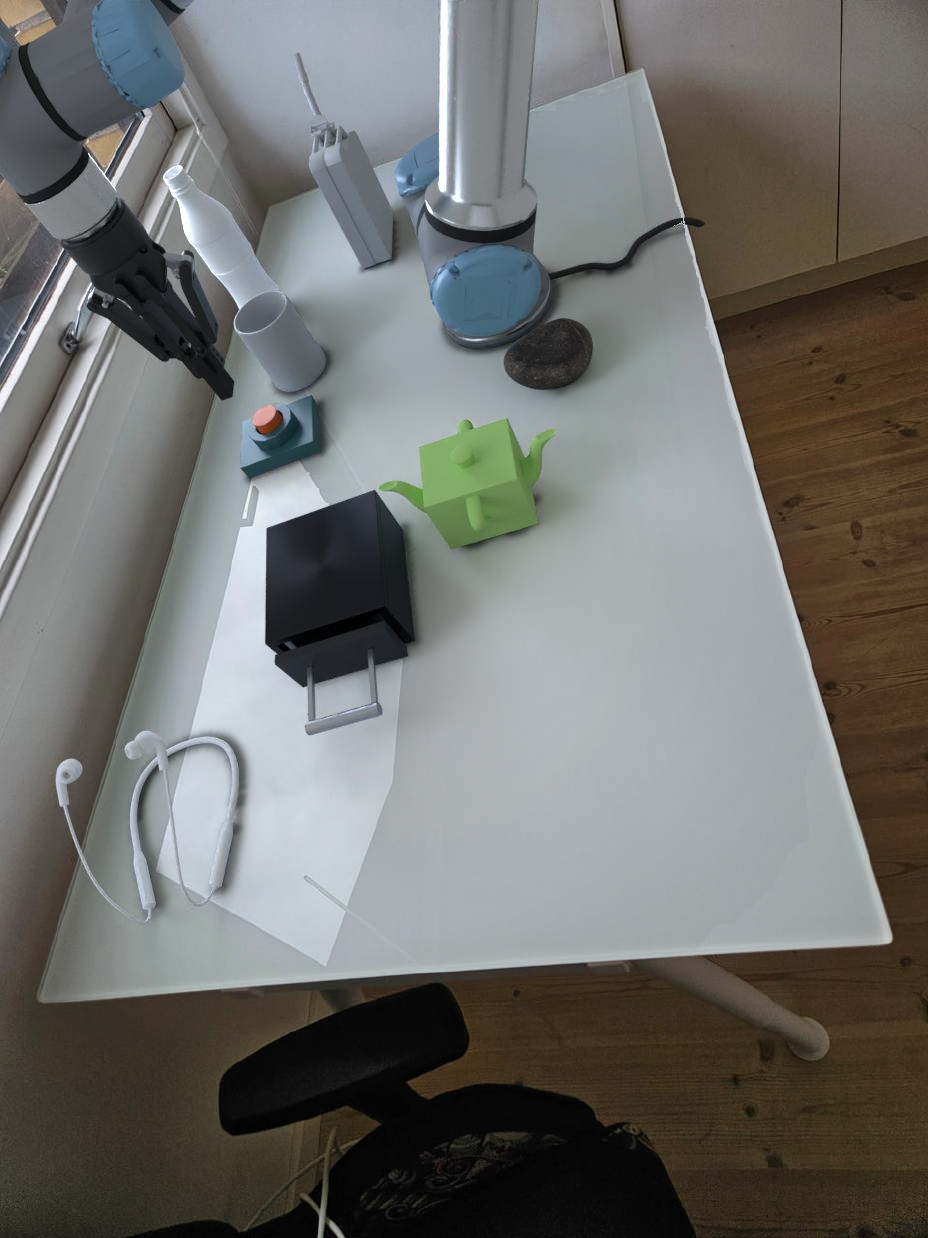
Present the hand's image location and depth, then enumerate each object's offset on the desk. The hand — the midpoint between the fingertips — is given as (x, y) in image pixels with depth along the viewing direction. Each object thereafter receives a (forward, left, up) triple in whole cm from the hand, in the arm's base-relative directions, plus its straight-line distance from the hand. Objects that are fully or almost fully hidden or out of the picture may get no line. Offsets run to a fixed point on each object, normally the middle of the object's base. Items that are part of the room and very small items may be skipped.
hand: (228, 390), depth 97 cm
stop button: (+1, -5, -11) cm, 12 cm away
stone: (-37, 0, -15) cm, 40 cm away
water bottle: (+3, -33, -15) cm, 36 cm away
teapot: (-26, +19, -15) cm, 35 cm away
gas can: (-16, -43, -15) cm, 48 cm away
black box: (-8, +25, -15) cm, 30 cm away
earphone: (+13, +47, -15) cm, 51 cm away
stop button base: (+1, -5, -15) cm, 15 cm away
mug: (-2, -20, -15) cm, 25 cm away
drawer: (-8, +31, -14) cm, 35 cm away
